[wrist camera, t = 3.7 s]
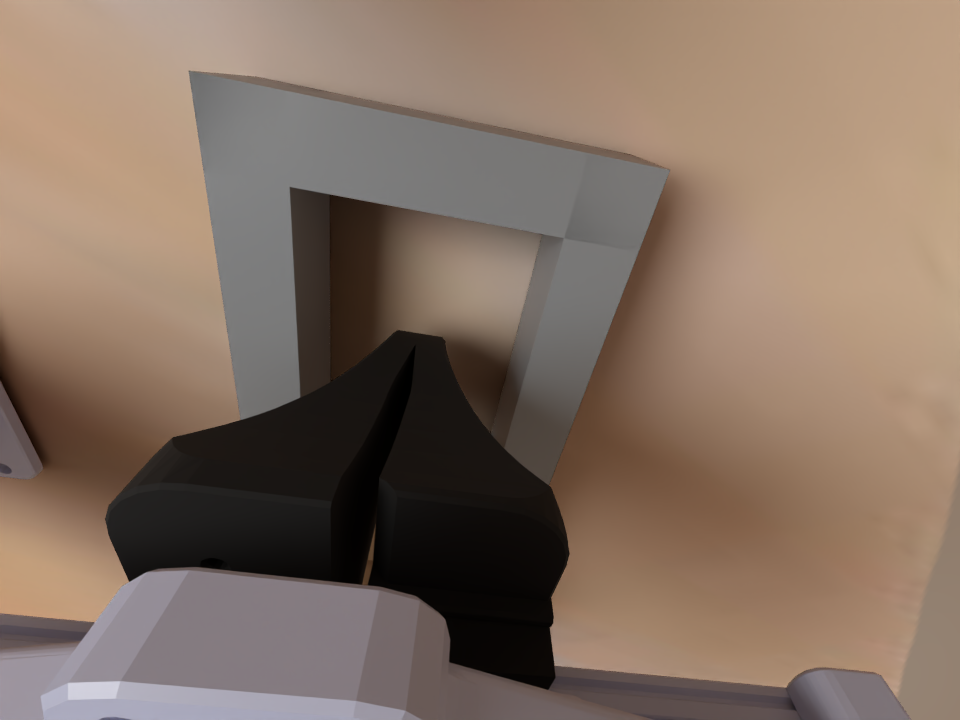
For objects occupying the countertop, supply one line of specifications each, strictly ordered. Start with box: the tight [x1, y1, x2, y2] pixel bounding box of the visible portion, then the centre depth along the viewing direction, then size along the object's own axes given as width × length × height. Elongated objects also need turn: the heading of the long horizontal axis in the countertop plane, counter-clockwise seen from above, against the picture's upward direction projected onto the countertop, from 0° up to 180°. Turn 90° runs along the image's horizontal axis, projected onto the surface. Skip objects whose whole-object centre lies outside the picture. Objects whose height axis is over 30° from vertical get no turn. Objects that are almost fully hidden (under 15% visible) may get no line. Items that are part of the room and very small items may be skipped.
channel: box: [189, 71, 670, 485], centre depth 15 cm, size 9×26×2 cm, turn 170°
